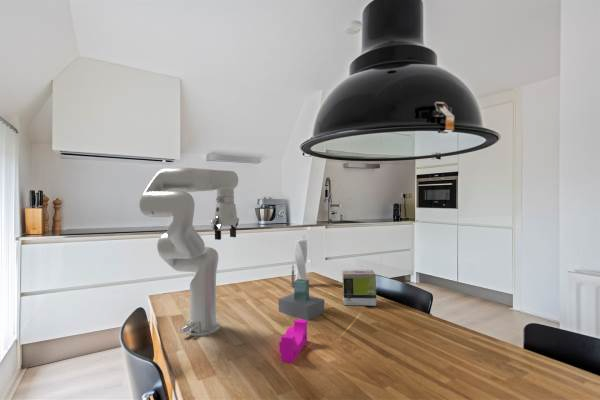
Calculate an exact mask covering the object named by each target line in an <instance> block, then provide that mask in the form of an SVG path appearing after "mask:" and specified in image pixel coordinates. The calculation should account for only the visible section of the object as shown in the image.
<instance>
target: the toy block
mask: <svg viewBox="0 0 600 400" xmlns="http://www.w3.org/2000/svg"><path fill="white" fill-rule="evenodd" d="M307 342H308V321H307V320H303V319H300V318H296V319H295V321H294V323H293V326H289V327H288V328H287V330H286V331H285V334H282V336H280V341H279V343H278V344H279V345H278V346H279V348H278V351H279V353H280V361H281V362H285V363H286V362H287V363H291V364H294V362H295V360H296V358H297V357H298V356H299V354H300V353H301V351H302V349H303V348H304V346H305V345H306V343H307Z"/></svg>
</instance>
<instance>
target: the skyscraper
mask: <svg viewBox="0 0 600 400" xmlns="http://www.w3.org/2000/svg"><path fill="white" fill-rule="evenodd" d="M301 237H302V238H301ZM307 257H308V241H307V239H305V235H300V236H299V235H298V236H297V237H296V238H295V240H294V260H295V264H296V265H295V266H296V267H294V265H292V266H291V269H292V270H291V284H290V286H291V287H294V281H296V280H297V279H306V280H308V277H307V276H308V275H307V268H306V265H307V264H306V263H307ZM294 268H296V270H294Z"/></svg>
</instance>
